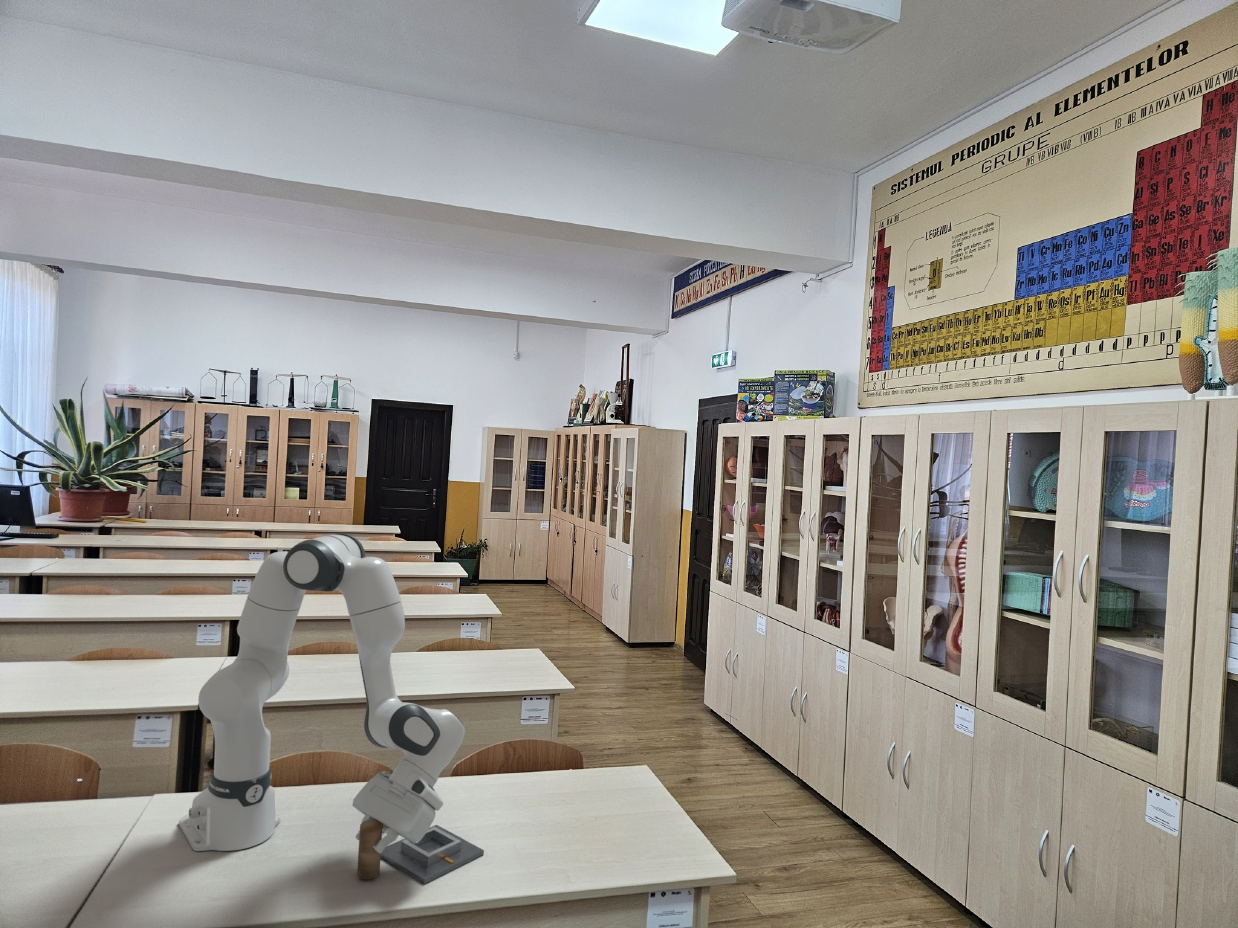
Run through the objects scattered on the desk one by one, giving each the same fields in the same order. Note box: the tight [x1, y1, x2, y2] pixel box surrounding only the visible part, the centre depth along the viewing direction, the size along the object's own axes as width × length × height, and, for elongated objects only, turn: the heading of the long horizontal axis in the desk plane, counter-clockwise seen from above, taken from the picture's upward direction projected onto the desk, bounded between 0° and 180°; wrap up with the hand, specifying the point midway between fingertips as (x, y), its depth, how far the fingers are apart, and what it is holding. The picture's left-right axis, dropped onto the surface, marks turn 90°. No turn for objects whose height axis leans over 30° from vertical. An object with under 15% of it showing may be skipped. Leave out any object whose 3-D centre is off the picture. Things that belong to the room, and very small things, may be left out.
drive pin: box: [356, 820, 384, 880], centre depth 158 cm, size 4×4×10 cm
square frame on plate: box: [381, 824, 485, 885], centre depth 168 cm, size 16×16×3 cm
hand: (367, 845), depth 158 cm, fingers closed on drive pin, 4 cm apart
